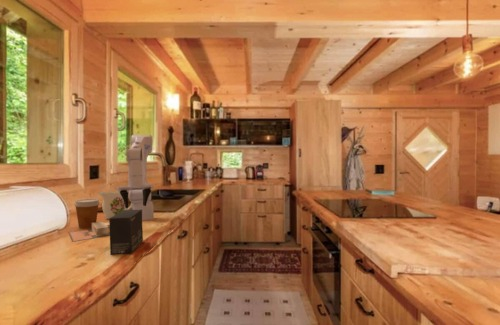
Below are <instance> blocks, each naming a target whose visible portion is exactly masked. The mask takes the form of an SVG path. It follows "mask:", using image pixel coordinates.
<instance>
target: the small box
mask: <svg viewBox="0 0 500 325" xmlns="http://www.w3.org/2000/svg"><path fill="white" fill-rule="evenodd" d="M108 220H109V222H108V223H110V236H109V246H110V248H109V252H110V253H109V254H110V255H112V256H115V255H132V254H133V253H134V252H135V251H136V249H137V248H138V247H139V246H140V245H141V244H142V243H143V242H144V236H143V235H144V231H143V230H144V229H143V221H142V210H132V209H130V210H123V211H121V212H120V213H118V214H116V215H114V216H113V217H111V218H109V219H108Z"/></svg>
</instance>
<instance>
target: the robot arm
mask: <svg viewBox="0 0 500 325" xmlns="http://www.w3.org/2000/svg"><path fill="white" fill-rule="evenodd" d="M130 139H131V140H130V141H131V142H130V143H131V147H130V148H129V149H126V160H127V161H126V162H127V166H128V172H127V173H128V177H127V178H128V181H127V182H128V183H127V184H128V185H121V186H117V187H116V191H118V192H119V191H120V194H121V196H122V198H123V200H124V204H125V208H126V209H127V208H129V202H130V203H131V202H132V208H131V210H142V222H144V221H149V220H151V221H154V220H155V218H154V217H155V213H154V211H155V209H154V202H153V201H151V200H152V190H154V184H149V183H148V182H147V181H146V180H147V166H148V165H147V164H148V163H147V162H148V156H149V154H151V153H152V152H153V143H154V142H153V136H152V135H151V134H150V135H147V134H140V135H139V134H132V135H131V138H130ZM128 195H129V197H128Z"/></svg>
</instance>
